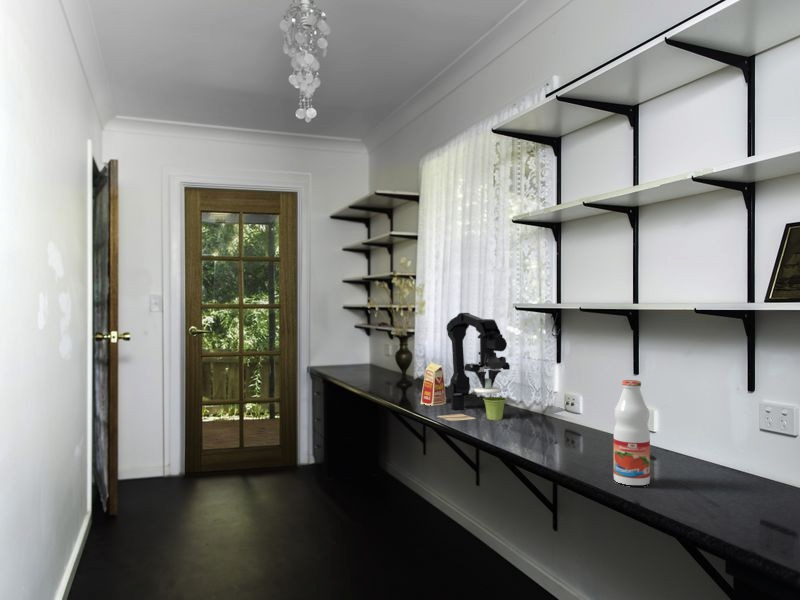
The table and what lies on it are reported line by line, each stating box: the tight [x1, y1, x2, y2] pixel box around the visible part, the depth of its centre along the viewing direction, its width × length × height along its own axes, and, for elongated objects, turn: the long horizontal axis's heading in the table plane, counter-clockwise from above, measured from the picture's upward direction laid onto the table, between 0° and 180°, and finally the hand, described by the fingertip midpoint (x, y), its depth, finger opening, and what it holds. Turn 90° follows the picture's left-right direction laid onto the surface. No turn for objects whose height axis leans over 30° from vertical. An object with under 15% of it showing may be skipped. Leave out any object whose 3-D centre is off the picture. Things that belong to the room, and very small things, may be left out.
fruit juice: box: [613, 379, 651, 485], centre depth 174 cm, size 9×9×28 cm
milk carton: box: [420, 361, 447, 407], centre depth 299 cm, size 9×9×20 cm
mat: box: [436, 413, 477, 422], centre depth 264 cm, size 12×12×1 cm
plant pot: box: [483, 396, 507, 421], centre depth 261 cm, size 9×9×9 cm
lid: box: [473, 377, 502, 395], centre depth 261 cm, size 11×11×5 cm
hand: (487, 387), depth 261 cm, fingers closed on lid, 3 cm apart
